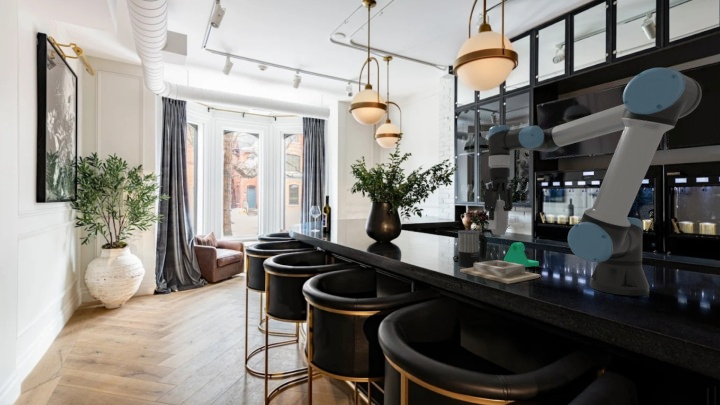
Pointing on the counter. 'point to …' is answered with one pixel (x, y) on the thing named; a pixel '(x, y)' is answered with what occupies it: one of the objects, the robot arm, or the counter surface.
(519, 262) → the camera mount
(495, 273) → the socket holder
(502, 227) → the salt shaker
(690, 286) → the counter surface
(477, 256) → the milk frother
